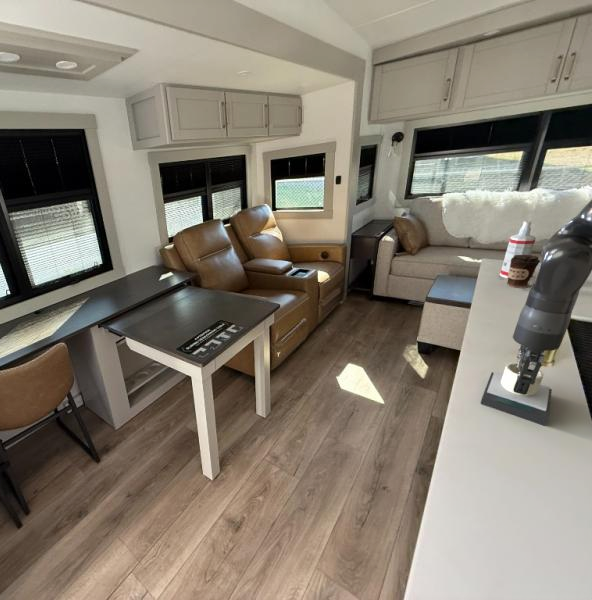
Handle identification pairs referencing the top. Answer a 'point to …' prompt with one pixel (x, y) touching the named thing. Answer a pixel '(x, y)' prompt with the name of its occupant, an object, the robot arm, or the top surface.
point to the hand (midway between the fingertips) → (519, 384)
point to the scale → (517, 401)
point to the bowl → (511, 377)
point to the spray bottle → (518, 247)
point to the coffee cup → (522, 270)
